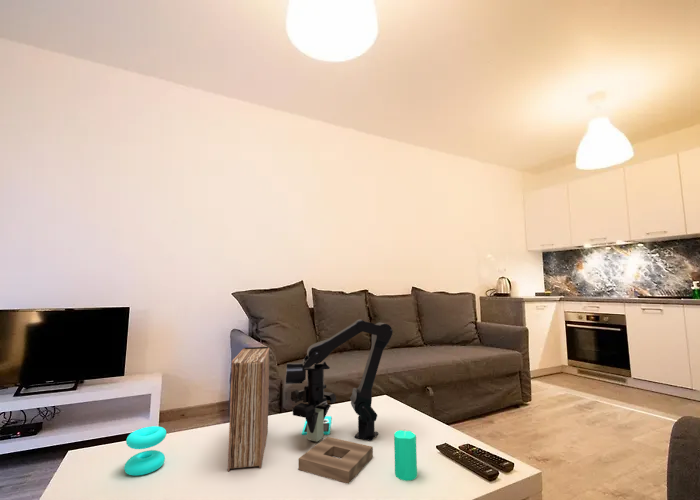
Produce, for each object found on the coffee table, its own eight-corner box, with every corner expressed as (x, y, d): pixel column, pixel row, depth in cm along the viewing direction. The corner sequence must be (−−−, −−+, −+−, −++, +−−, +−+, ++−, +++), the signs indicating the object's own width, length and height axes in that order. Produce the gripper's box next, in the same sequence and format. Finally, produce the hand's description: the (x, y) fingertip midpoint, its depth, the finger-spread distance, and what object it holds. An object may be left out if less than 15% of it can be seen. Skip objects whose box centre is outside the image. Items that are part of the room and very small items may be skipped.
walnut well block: (327, 446, 109) (327, 436, 110) (372, 457, 102) (372, 446, 103) (298, 469, 95) (298, 458, 96) (348, 483, 88) (348, 471, 88)
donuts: (163, 435, 95) (122, 441, 91) (161, 473, 94) (119, 480, 90) (169, 422, 104) (131, 427, 101) (167, 457, 103) (128, 463, 99)
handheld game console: (332, 419, 134) (332, 415, 134) (330, 436, 118) (330, 432, 119) (306, 419, 134) (306, 415, 134) (301, 436, 118) (301, 432, 119)
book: (261, 469, 96) (263, 360, 99) (227, 472, 94) (231, 361, 98) (267, 432, 121) (269, 346, 124) (241, 434, 119) (243, 347, 123)
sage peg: (313, 434, 117) (313, 407, 118) (323, 437, 115) (323, 409, 116) (307, 439, 113) (307, 411, 114) (317, 441, 111) (317, 413, 112)
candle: (417, 481, 89) (415, 433, 90) (394, 479, 90) (393, 432, 92) (417, 470, 95) (415, 425, 96) (395, 468, 96) (394, 423, 97)
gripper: (311, 374, 128) (310, 417, 126) (279, 386, 112) (278, 436, 110) (336, 377, 123) (336, 422, 121) (307, 390, 107) (307, 443, 105)
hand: (315, 430), depth 114 cm, fingers closed on sage peg, 4 cm apart
